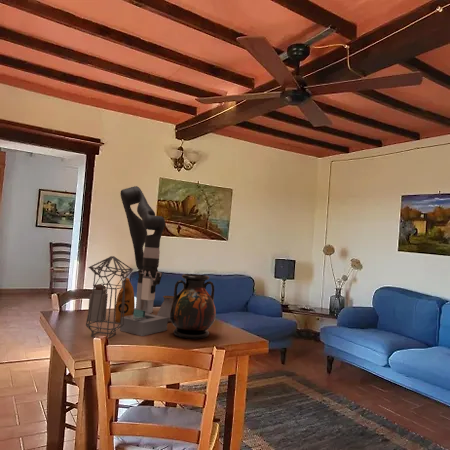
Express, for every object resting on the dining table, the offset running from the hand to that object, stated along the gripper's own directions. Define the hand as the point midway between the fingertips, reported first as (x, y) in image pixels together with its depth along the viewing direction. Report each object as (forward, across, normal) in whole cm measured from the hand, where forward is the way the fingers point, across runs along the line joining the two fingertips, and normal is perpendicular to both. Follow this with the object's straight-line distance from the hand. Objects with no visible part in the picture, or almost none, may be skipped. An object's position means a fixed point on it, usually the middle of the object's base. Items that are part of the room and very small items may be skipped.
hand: (148, 292), depth 193 cm
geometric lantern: (+18, -4, -21) cm, 28 cm away
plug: (+3, 0, 0) cm, 3 cm away
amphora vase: (+18, +21, +8) cm, 29 cm away
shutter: (+12, 0, -8) cm, 14 cm away
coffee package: (+18, -20, +5) cm, 27 cm away
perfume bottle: (+18, -30, -4) cm, 35 cm away
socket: (+18, 0, -1) cm, 18 cm away
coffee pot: (+18, -4, +28) cm, 34 cm away
